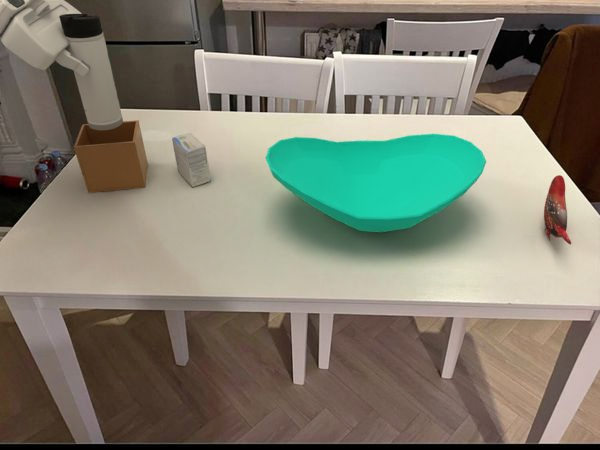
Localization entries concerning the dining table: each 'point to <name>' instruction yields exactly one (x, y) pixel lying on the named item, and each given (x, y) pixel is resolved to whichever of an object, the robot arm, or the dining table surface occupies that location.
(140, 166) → the brown open box
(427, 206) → the table top decor
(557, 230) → the decorative bird figurine
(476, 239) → the dining table surface
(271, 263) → the dining table surface
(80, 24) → the travel mug
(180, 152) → the medicine box
